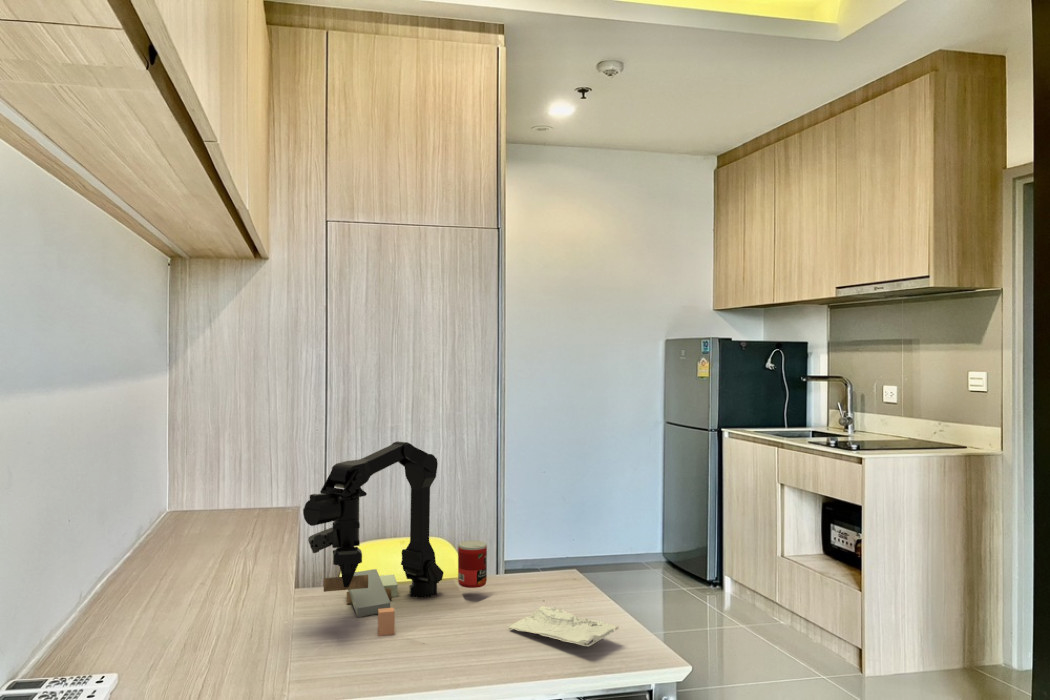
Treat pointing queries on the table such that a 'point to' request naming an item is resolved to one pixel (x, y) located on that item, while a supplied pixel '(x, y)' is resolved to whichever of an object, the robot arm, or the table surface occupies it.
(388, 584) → the block
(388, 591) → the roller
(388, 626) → the orange upright block
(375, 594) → the slab
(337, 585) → the roller
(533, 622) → the terrain model
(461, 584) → the canned food
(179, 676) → the table surface
